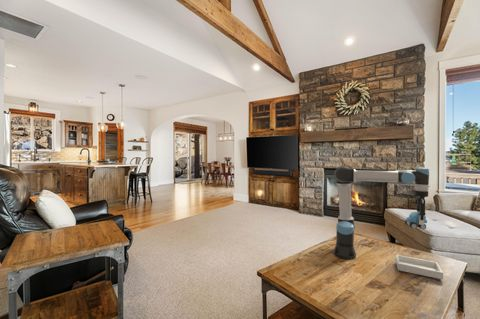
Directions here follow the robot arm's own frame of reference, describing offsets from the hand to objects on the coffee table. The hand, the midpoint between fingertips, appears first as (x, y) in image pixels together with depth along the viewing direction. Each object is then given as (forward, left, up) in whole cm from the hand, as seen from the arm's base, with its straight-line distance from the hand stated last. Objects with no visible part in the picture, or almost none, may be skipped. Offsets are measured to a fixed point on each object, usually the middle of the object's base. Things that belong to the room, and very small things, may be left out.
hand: (420, 222), depth 162 cm
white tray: (-3, -17, -27) cm, 32 cm away
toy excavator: (0, 0, -4) cm, 4 cm away
